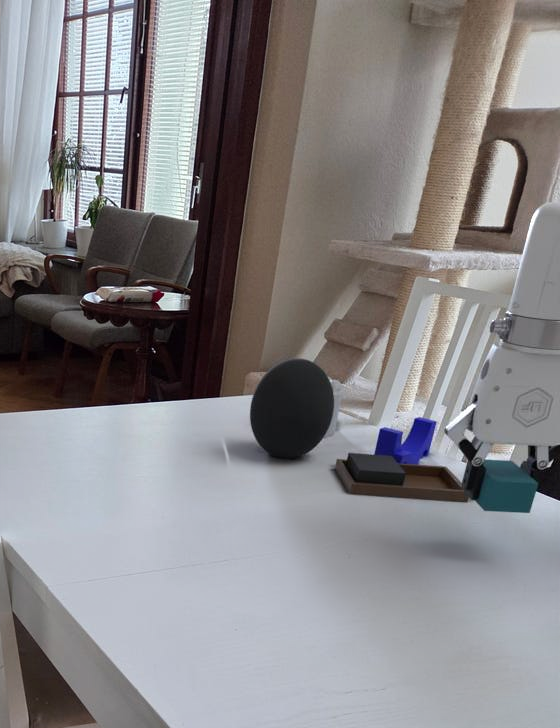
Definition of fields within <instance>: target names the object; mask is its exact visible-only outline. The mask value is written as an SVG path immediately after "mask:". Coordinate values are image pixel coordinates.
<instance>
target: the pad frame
mask: <svg viewBox="0 0 560 728" xmlns="http://www.w3.org/2000/svg"><path fill="white" fill-rule="evenodd" d="M346 462H347V458H346V459H345V458H344V459H343V458H336V460H335V466H334V470H335V472H336V474H337V475H338V477H339V479H340V480H341V482H342V484H343V485H344V487H345V489H346V490H347V492H348V494H349V495H353V496H354V495H356V496H368V497H369V496H370V497H383V498H398V499H411V500H412V499H413V500H425V501H426V500H427V501H439V502H451V503H454V502H455V503H468V502H469V500H470V499H469V497H468V496H467V495H466V494H465V493H464V490H463V489H462V481H460V480H459V478H458V477H457V476H456V475H455V474H454V473H453V472H452V471H451V470H450V469H449V468H448V467H447V466H444V465H443V466H442V465H430V464H418V465H417V464H403V463H398V464H399V465H400V467H401V468H402V469H403V470H404V472H405V473H406V475H405V479H404V483H403V486H397V485H383V484H369V483H355V482H354V480H353V478H352V477H351V475H350V474H349V472H348V470H347V469H346Z"/></svg>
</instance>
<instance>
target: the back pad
mask: <svg viewBox="0 0 560 728" xmlns="http://www.w3.org/2000/svg"><path fill="white" fill-rule="evenodd" d="M346 460H347V462H346V469H347V470H348V472H349V474H350V475H351V477H352V478H353V480H354V482H355V483H369V484H383V485H397V486H403V483H404V479H405V475H406V473H405V472H404V470H403V469H402V468H401V467H400V465H399V464H398V463H397V462H396V460H395V459H394V458H393V457H392V456H386V455H374V454H373V453H372V454H371V453H369V454H368V453H356V452H348V453H347V457H346Z"/></svg>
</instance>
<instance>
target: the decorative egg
mask: <svg viewBox="0 0 560 728" xmlns="http://www.w3.org/2000/svg"><path fill="white" fill-rule="evenodd" d="M327 376H328V375H327V373H326V372H325V371H324V370H323V368H322V367H320V366H319V365H318V364H316V362H313V361H311V360H309V359H305V358H302V357H301V358H299V357H293V358H289V359H285V360H282V361H280V362H277V363H276V364H274V365H273V366H272V367H270V368H269V369H268V370H267V371H266V372H265V373H264V375H263V376H262V377H261V378H260V379H259V381H258V383H257V385H256V387H255V389H254V391H253V394H252V397H251V401H250V407H249V421H250V428H251V431H252V434H253V436H254V438H255V440H256V442H257V443H258V445H259V446H260V447H261V448H262V450H263V451H265V452H266V453H267V454H269V455H270V456H273V457H275V458H279V459H284V460H285V459H287V460H289V459H291V460H292V459H296V458H297V459H298V458H300V457H302V456H304V455H306V454H308V453H310V452H311V451H313V450H314V449H315V448H316V447H317V446H318V445H319V444H320V443H321V441H322V440H323V439H324V438H325V437H324V436H325V434H326V432H327V431H328V429H329V426H330V424H331V421H332V417H333V412H334V394H333V389H332V385H331V383H330V380H329V378H328V377H329V376H328V377H327ZM323 437H324V438H323Z"/></svg>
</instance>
